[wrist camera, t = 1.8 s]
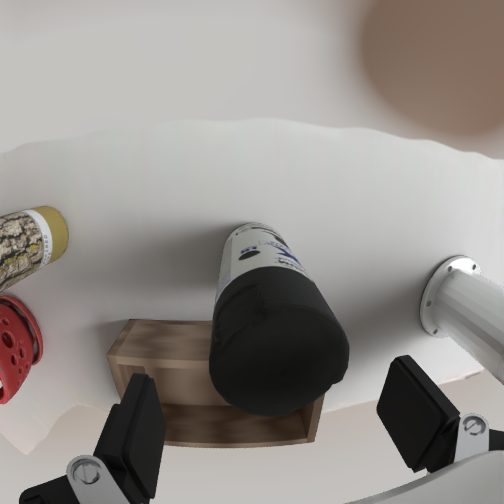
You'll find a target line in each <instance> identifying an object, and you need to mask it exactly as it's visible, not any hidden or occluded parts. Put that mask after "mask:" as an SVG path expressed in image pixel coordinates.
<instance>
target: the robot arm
mask: <svg viewBox="0 0 504 504" xmlns="http://www.w3.org/2000/svg"><path fill="white" fill-rule="evenodd" d="M420 318H421V322H422V325H423V327H424V329H425V330H426V331H427V332H428V333H429V334H430V335H432V336H433V337H437V338H444V337H448V336H449V337H450V338H452V339H453V340H454V341H455V342H456V343H457V344H458V345H460V346H461V347H462V348H463V349H464V350H465V351H466V352H468V353H469V354H470V355H471V356H472V357H473V358H474V359H475V360H477V361H478V362H479V363H480V364H481V365H482V366H483V367H484V368H485V369H486V370H488V371H489V372H490V373H491V374H492V375H493V376H494V377H495V378H496V379H497V380H499V381H500V382H501V383H502V384H503V385H504V287H502V286H500V285H498V284H497V283H495V282H493V281H491V280H489V279H487V278H485V277H483V276H482V274H481V270H480V268H479V266H478V264H477V263H476V262H475V261H474V260H473V259H471V258H469V257H466V256H456V257H453V258H451V259H449V260H447V261H446V262H445V263H443V264H442V265H441V266H440V267H439V268H438V269H437V270H436V272H435V273H434V274H433V276H432V277H431V279H430V281H429V282H428V284H427V286H426V289H425V291H424V294H423V297H422V301H421V308H420ZM377 414H378V416H379V417H380V419H381V421H382V423H383V425H384V426H385V428H386V430H387V431H388V433H389V435H390V437H391V438H392V440H393V442H394V444H395V445H396V447H397V449H398V451H399V452H400V454H401V456H402V458H403V460H404V461H405V463H406V465H407V467H408V468H412V470H413V472H414V473H416V472H418V471H420V470H423V469H425V467H426V469H427V471H428V472H427V475H426V476H425V477H422V478H420V479H417V480H415V481H413V482H410V483H408V484H405V485H403V486H400V487H397V488H394V489H392V490H389V491H386V492H383V493H380V494H377V495H374V496H370V497H367V498H364V499H360V500H357V501H354V502H349V503H345V504H504V432H503V431H497V430H492V429H489V425H488V422H487V420H486V419H485V418H484V417H483V416H481V415H479V414H475V413H470V414H466V415H464V416H463V417H462V418H460V417H459V415H460V412H459V411H458V410H457V409H456V407H455V406H454V405H453V404H452V403H451V402H450V400H449V399H448V398H447V397H446V396H445V395H444V393H443V392H442V391H441V390H440V389H439V388H438V387H437V385H436V384H435V383H434V382H433V381H432V380H431V379H430V377H429V376H428V375H427V374H426V373H425V372H424V371H423V370H422V369H421V367H420V366H419V365H418V364H417V363H416V362H415V361H414V360H413V359H412V357H411V356H409V355H404V356H399V357H396V358H395V359H394V361H392V362H391V364H390V368H389V371H388V374H387V377H386V381H385V384H384V387H383V390H382V393H381V396H380V399H379V402H378V404H377ZM165 435H166V423H165V419H164V416H163V412H162V408H161V405H160V401H159V397H158V393H157V389H156V385H155V381H154V379H153V378H150V377H149V375H148V374H141V373H133V374H132V376H131V378H130V381H129V383H128V386H127V388H126V391H125V393H124V395H123V398H122V400H121V403H120V404H114V405H113V406H112V408H111V411H110V413H109V416H108V418H107V421H106V423H105V426H104V428H103V431H102V433H101V435H100V438H99V440H98V443H97V446H96V448H95V451H94V454H93V456H91V455H82V456H78V457H76V458H74V459H72V461H70V462H69V464H68V466H67V470H66V473H67V475H64V476H62V477H59V478H56V479H54V480H51V481H48V482H46V483H43V484H40V485H37V486H34V487H31V488H28V489H26V490H25V491H24V492H23V493H22V494H21V495H20V498H19V504H149V501H150V499H154V497H155V493H156V487H157V480H158V474H159V468H160V462H161V457H162V451H163V446H164V440H165Z"/></svg>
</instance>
